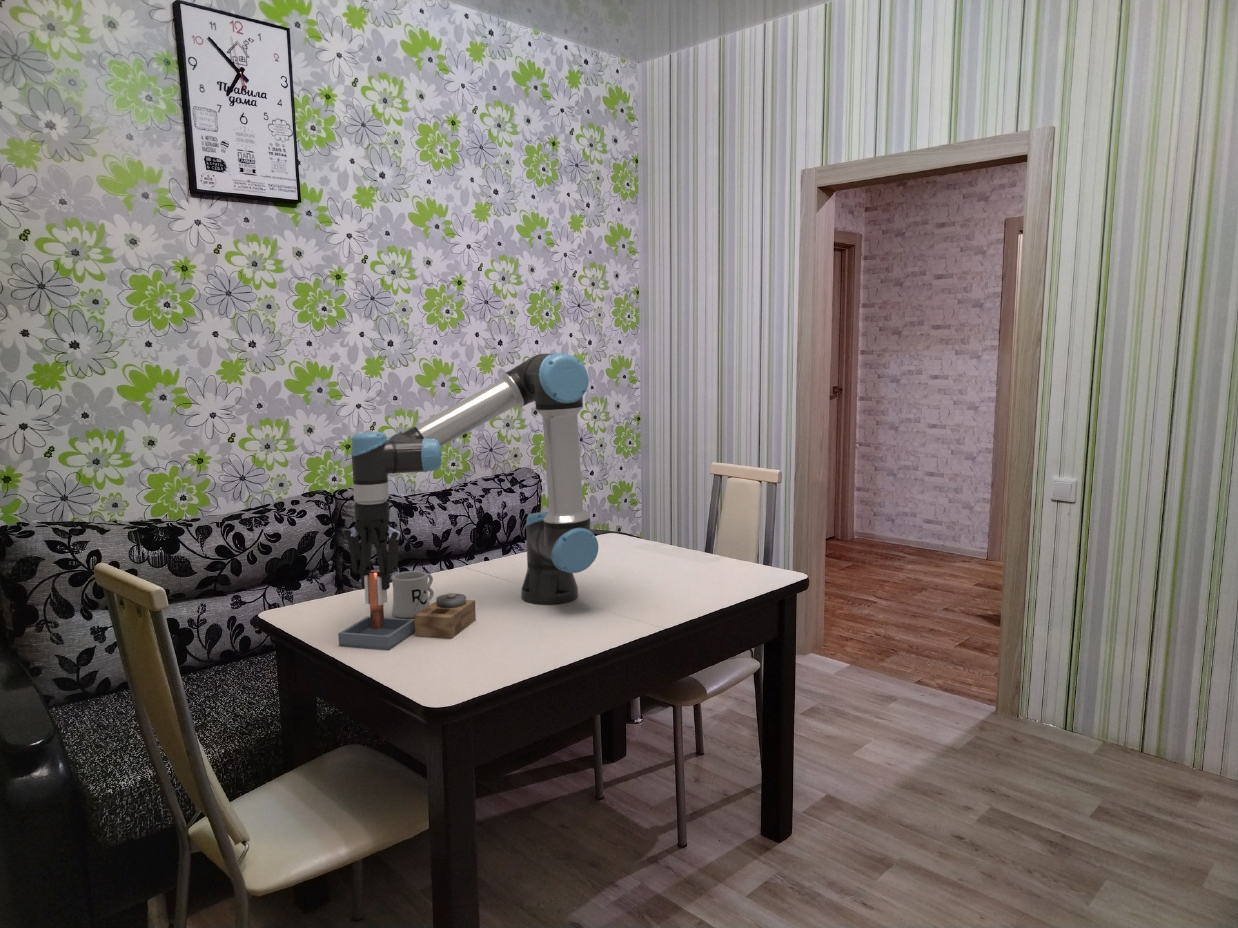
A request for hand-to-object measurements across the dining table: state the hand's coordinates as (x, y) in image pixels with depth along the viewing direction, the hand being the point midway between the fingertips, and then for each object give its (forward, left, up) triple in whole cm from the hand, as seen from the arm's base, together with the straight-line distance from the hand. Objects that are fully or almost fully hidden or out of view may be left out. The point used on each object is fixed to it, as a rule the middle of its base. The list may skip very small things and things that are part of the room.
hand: (376, 602), depth 189 cm
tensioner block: (-12, -11, -9) cm, 18 cm away
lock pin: (0, 0, -6) cm, 6 cm away
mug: (+1, -21, -9) cm, 22 cm away
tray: (0, 0, -9) cm, 9 cm away
